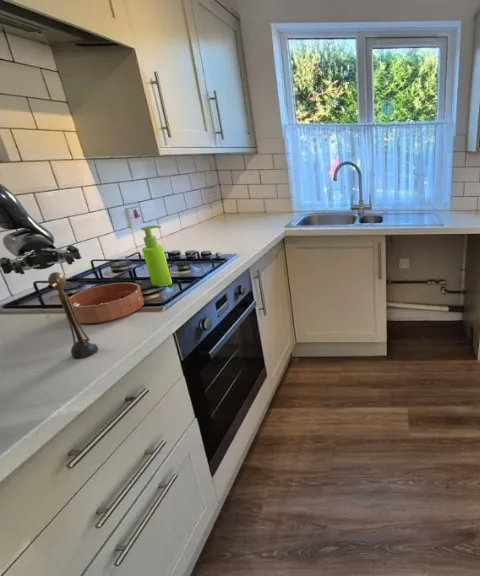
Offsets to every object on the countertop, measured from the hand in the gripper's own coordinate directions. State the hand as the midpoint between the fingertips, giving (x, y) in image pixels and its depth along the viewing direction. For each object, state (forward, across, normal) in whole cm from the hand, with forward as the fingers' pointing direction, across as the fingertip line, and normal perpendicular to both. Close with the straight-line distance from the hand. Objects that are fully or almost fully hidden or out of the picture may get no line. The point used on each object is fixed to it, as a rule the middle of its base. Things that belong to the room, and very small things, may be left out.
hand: (46, 265), depth 83 cm
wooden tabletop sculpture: (+11, 0, +20) cm, 23 cm away
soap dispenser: (-23, +28, +20) cm, 41 cm away
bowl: (-12, +10, +20) cm, 25 cm away
